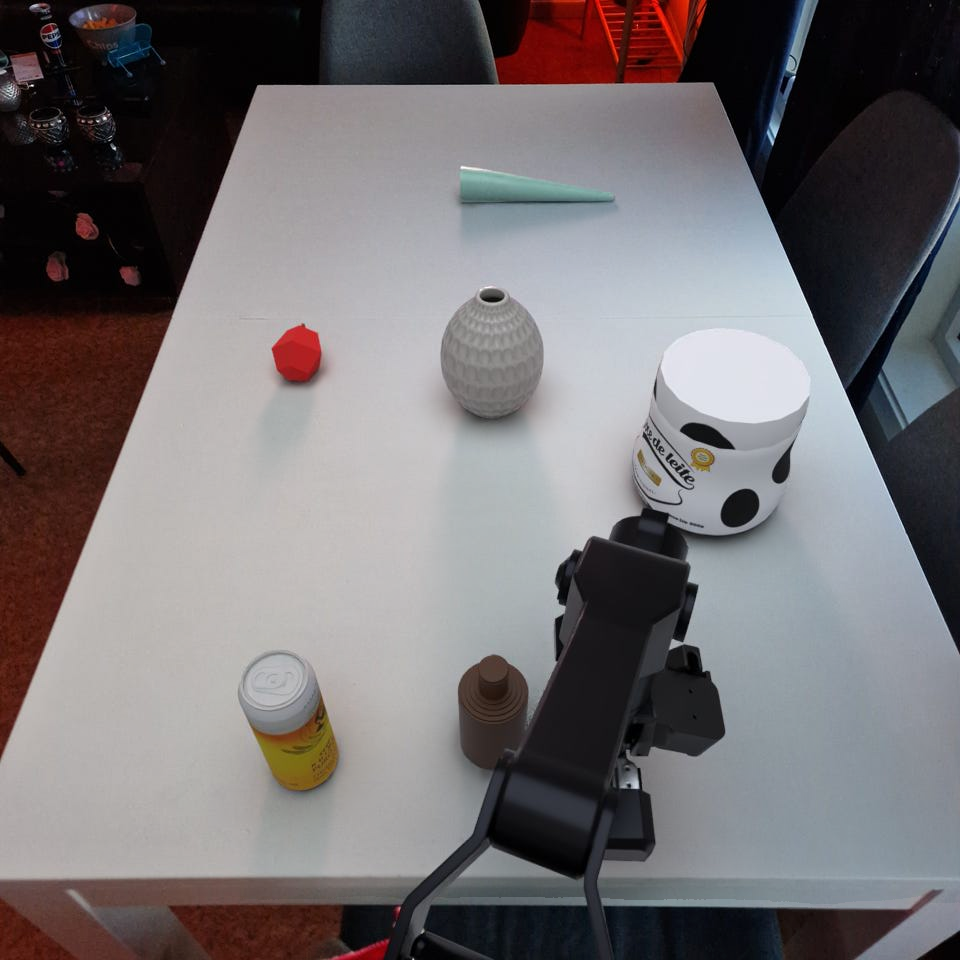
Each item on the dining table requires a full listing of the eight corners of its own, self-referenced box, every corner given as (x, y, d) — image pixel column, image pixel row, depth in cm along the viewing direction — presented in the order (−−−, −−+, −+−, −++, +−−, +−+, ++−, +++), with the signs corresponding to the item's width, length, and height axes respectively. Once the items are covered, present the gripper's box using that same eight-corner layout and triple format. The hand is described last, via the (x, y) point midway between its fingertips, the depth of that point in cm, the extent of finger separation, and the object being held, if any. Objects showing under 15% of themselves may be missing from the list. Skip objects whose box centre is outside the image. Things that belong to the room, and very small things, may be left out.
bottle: (526, 770, 74) (531, 702, 65) (459, 769, 74) (455, 701, 65) (524, 708, 78) (528, 636, 69) (460, 708, 78) (457, 636, 69)
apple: (305, 365, 105) (318, 311, 108) (258, 365, 107) (272, 313, 110) (327, 391, 111) (339, 340, 114) (283, 391, 113) (295, 341, 116)
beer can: (334, 794, 73) (307, 715, 62) (266, 793, 73) (226, 714, 62) (343, 729, 77) (319, 644, 66) (278, 729, 77) (243, 644, 66)
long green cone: (619, 178, 137) (459, 175, 138) (615, 209, 141) (460, 205, 142) (617, 163, 141) (461, 160, 142) (614, 193, 145) (462, 190, 146)
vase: (559, 415, 106) (569, 307, 94) (472, 449, 102) (470, 341, 90) (509, 360, 114) (511, 253, 101) (426, 390, 109) (418, 283, 97)
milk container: (601, 506, 95) (619, 388, 82) (666, 420, 105) (692, 303, 92) (742, 573, 89) (787, 457, 75) (798, 476, 98) (846, 358, 85)
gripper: (755, 818, 50) (705, 897, 61) (707, 568, 62) (672, 672, 74) (570, 812, 50) (555, 892, 61) (559, 565, 63) (548, 670, 74)
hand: (589, 771), depth 68 cm, fingers closed on cap, 4 cm apart
